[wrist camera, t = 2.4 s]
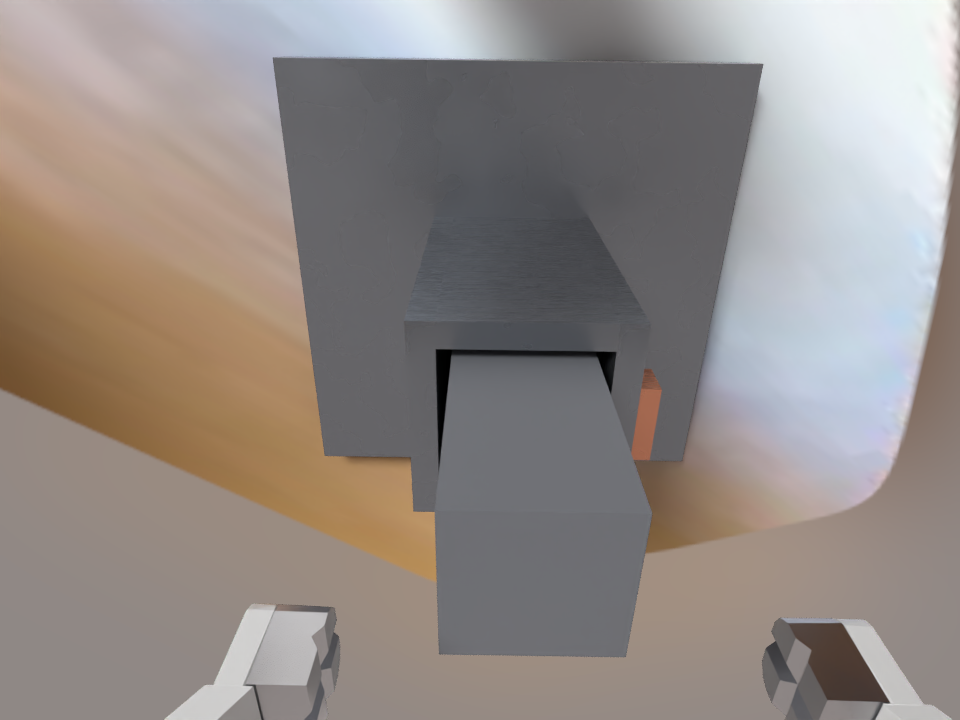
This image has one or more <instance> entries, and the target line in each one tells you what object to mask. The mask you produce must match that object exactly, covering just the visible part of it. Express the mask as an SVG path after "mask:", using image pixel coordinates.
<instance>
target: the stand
mask: <svg viewBox="0 0 960 720" xmlns="http://www.w3.org/2000/svg"><path fill="white" fill-rule="evenodd" d="M273 64H274V71H275V79H276V87H277V94H278V102H279V110H280V117H281V125H282V133H283V140H284V148H285V155H286V163H287V171H288V178H289V186H290V194H291V201H292V209H293V217H294V224H295V232H296V240H297V247H298V255H299V262H300V270H301V278H302V285H303V293H304V301H305V308H306V316H307V324H308V331H309V339H310V347H311V354H312V362H313V370H314V377H315V385H316V392H317V400H318V408H319V415H320V423H321V431H322V438H323V446H324V454H325V456H366V457H411V471H412V491H413V511H416V512H435V504H436V494H437V485H438V476H439V467H440V457H441V448H442V439H443V430H444V421H445V411H446V402H447V393H448V384H449V374H450V365H451V356H452V349H465V350H535V351H595V352H596V355H597V357H598V360H599V363H600V366H601V369H602V372H603V374H604V377H605V380H606V383H607V386H608V389H609V392H610V394H611V397H612V400H613V403H614V406H615V409H616V411H617V414H618V417H619V420H620V423H621V426H622V428H623V431H624V434H625V437H626V440H627V443H628V446H629V448H630V451H631V454H632V457H633V460H640V461H682V459H683V454H684V449H685V444H686V439H687V434H688V429H689V425H690V420H691V415H692V410H693V405H694V400H695V395H696V390H697V385H698V381H699V376H700V371H701V366H702V361H703V356H704V351H705V346H706V341H707V337H708V332H709V327H710V322H711V317H712V312H713V307H714V302H715V297H716V293H717V288H718V283H719V278H720V273H721V268H722V263H723V258H724V253H725V249H726V244H727V239H728V234H729V229H730V224H731V219H732V214H733V210H734V205H735V200H736V195H737V190H738V185H739V180H740V175H741V170H742V166H743V161H744V156H745V151H746V146H747V141H748V136H749V131H750V126H751V122H752V117H753V112H754V107H755V102H756V97H757V92H758V87H759V82H760V78H761V73H762V68H763V64H755V63H724V62H649V61H574V60H499V59H425V58H350V57H274V58H273Z"/></svg>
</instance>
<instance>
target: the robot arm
mask: <svg viewBox="0 0 960 720" xmlns="http://www.w3.org/2000/svg"><path fill="white" fill-rule="evenodd" d="M336 621H337V619H336V613H335V608H333V607H320V606H302V605H283V604H256V603H255V604H254V603H253V604H251V606H250V607H249V608H248V609H247V610H246V612H245V614H244V616H243V619H242V621H241V623H240V625H239V628H238V630H237V633H236V634H235V637H234V639H233V641H232V643H231V646H230V648H229V650H228V652H227V655H226V657H225V659H224V661H223V664H222V666H221V668H220V670H219V673H218V675H217V677H216V679H215V682H214V684H213V685H204V686H203V687H202V688H200V689H199V690H198V691H197V692H196V693H195V694H193V695H192V696H191V697H190V698H189V699H187V700H186V701H185V702H184V703H183V704H182V705H180V706H179V707H178V708H177V709H176V710H174V711H173V712H172V713H171V714H170V715H169V716H167V717H166V718H165V719H164V720H327V718H328V710H327V703H326V699H327V698H328V697H329V696H330V695H331V694H332V693H333V692H334V690H335V686H336V682H337V677H338V671H339V663H340V641H339V636H338V635H336V634H335V633H334V628H335V625H336ZM772 634H773V636H774V638H775V640H776V641H775V642H774V643H772V644H771V645H769V646H768V647H767V648H766V649H765V653H764V657H763V660H762V666H763V678H764V683H765V687H766V690H767V692H768V695H769V698H770V700H771V703H772V704H773V705H774V706H775V707H776V708H778V709H779V710H780V711H781V712H782V713H783V714H784V715H785V716H786V717H785V720H952V719H950V718H949V717H948V716H946V715H945V714H944V713H942V712H941V711H940V710H938V709H937V708H936V707H934V706H933V705H924V704H923V703H922V701H921V700H920V698H919V697H918V695H917V694H916V692H915V691H914V689H913V688H912V686H911V684H910V683H909V681H908V680H907V678H906V677H905V676H904V674H903V672H902V671H901V669H900V668H899V666H898V665H897V663H896V662H895V660H894V659H893V657H892V656H891V654H890V653H889V651H888V650H887V648H886V647H885V645H884V644H883V642H882V640H881V639H880V637H879V636H878V634H877V633H876V631H875V630H874V628H873V627H872V625H871V624H869V623H868V622H867V621H865V620H852V619H832V618H779V619H778V620H777V621H776V622H775V623H774V626H773V629H772Z"/></svg>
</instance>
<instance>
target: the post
mask: <svg viewBox="0 0 960 720" xmlns="http://www.w3.org/2000/svg"><path fill="white" fill-rule="evenodd" d="M651 519H652V511H651V508H650V505H649V502H648V500H647V497H646V494H645V491H644V488H643V485H642V482H641V480H640V477H639V474H638V471H637V468H636V465H635V463H634V460H633V457H632V454H631V451H630V448H629V446H628V443H627V440H626V437H625V434H624V431H623V428H622V426H621V423H620V420H619V417H618V414H617V411H616V409H615V406H614V403H613V400H612V397H611V394H610V392H609V389H608V386H607V383H606V380H605V377H604V374H603V372H602V369H601V366H600V363H599V360H598V357H597V355H596V352H595V351H535V350H465V349H452V356H451V365H450V374H449V384H448V393H447V402H446V411H445V421H444V430H443V439H442V448H441V457H440V467H439V476H438V485H437V494H436V504H435V535H436V569H437V601H438V602H437V603H438V638H439V654H453V655H517V656H518V655H519V656H581V657H582V656H584V657H585V656H586V657H587V656H588V657H626V653H627V648H628V642H629V637H630V631H631V626H632V621H633V615H634V610H635V605H636V599H637V594H638V588H639V583H640V578H641V572H642V567H643V562H644V556H645V551H646V546H647V540H648V535H649V529H650V524H651Z"/></svg>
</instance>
